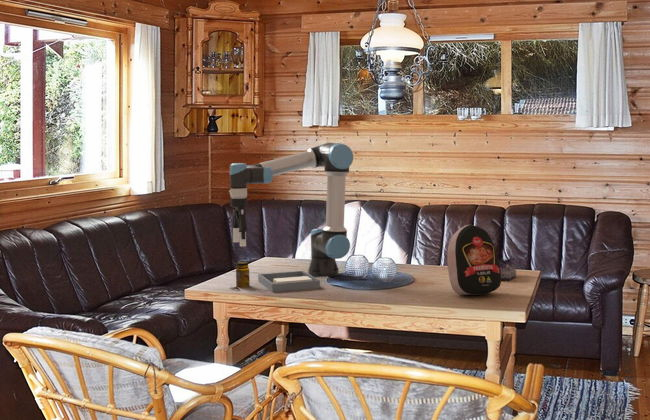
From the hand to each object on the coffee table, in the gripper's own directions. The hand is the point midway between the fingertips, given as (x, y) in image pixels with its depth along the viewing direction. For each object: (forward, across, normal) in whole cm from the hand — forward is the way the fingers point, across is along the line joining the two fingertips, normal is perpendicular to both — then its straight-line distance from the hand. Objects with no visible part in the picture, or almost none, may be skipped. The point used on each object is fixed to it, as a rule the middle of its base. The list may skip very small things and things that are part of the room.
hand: (239, 244), depth 398 cm
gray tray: (+20, +5, +21) cm, 30 cm away
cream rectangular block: (+19, +12, +21) cm, 31 cm away
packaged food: (+20, +51, +91) cm, 106 cm away
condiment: (+21, 0, 0) cm, 21 cm away
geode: (+20, +22, +122) cm, 126 cm away
